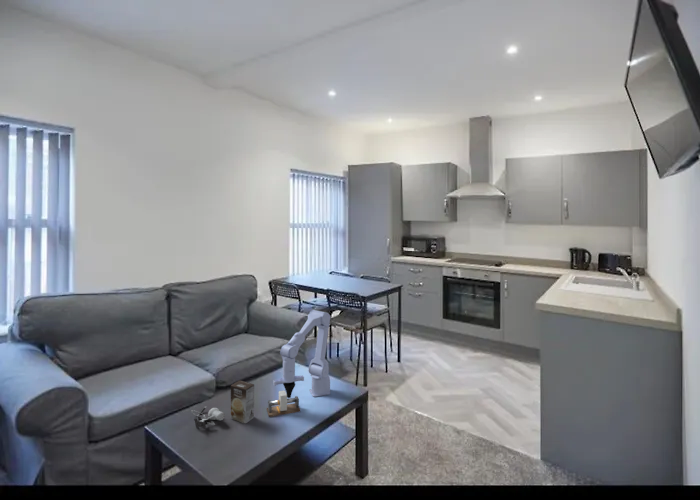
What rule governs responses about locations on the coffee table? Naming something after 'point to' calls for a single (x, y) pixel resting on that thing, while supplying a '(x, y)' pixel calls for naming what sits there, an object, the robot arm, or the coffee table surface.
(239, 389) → the coffee box
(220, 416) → the clip-on lamp
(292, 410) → the rod jig
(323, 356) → the robot arm
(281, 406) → the white block on rod
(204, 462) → the coffee table surface
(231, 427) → the coffee table surface
